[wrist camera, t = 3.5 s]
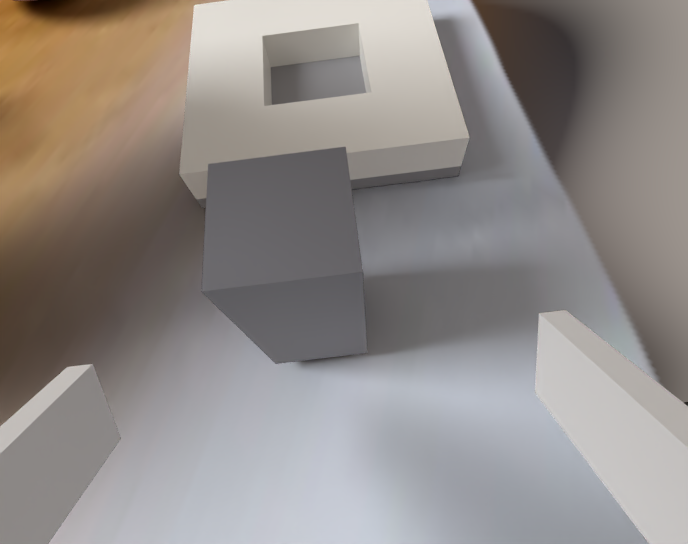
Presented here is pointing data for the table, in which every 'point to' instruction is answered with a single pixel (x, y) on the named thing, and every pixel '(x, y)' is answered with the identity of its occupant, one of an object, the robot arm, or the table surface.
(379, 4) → the socket
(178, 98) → the table surface
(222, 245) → the plug
